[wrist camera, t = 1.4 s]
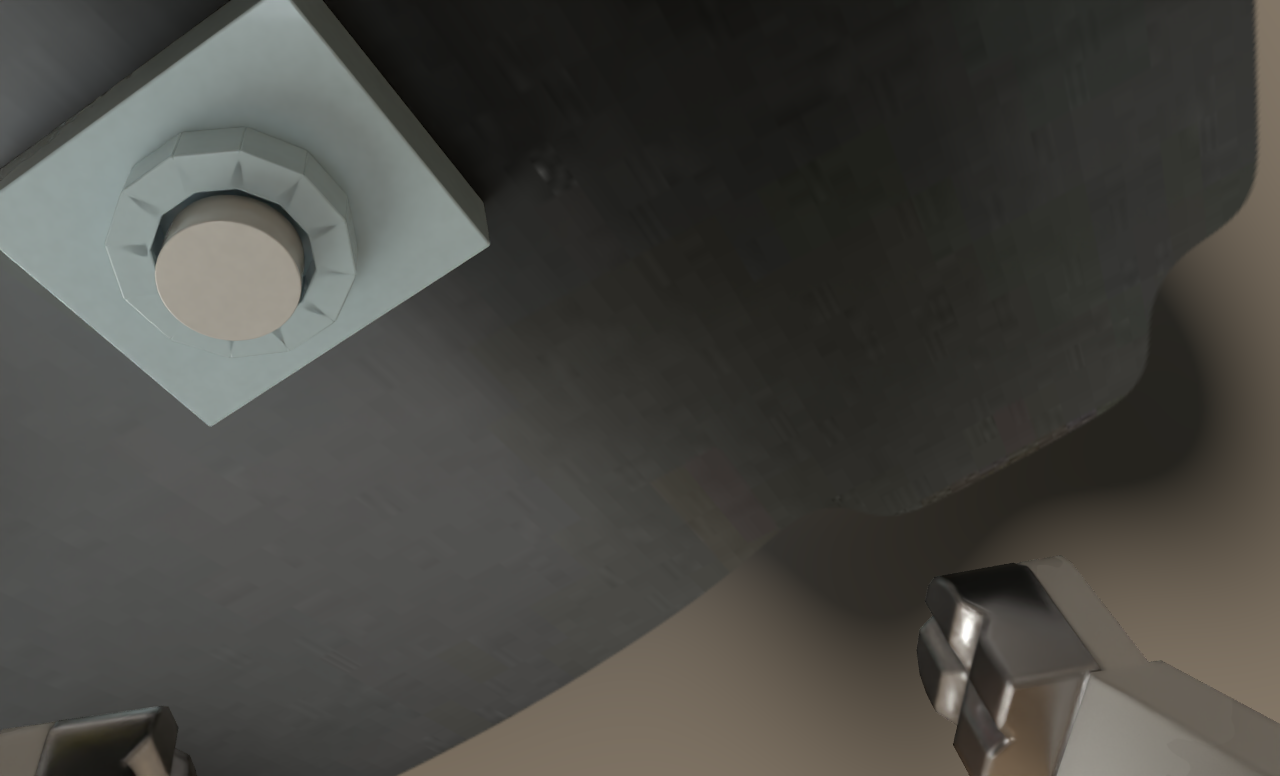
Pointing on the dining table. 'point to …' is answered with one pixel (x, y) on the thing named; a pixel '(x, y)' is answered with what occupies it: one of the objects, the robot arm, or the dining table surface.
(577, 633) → the dining table surface
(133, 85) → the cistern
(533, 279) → the dining table surface
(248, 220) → the flush button
